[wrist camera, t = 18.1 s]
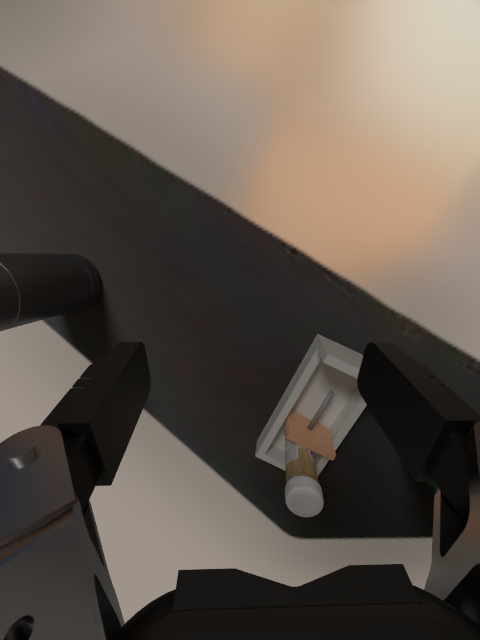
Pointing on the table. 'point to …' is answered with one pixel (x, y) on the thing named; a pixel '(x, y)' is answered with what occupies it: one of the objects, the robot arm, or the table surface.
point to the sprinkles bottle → (301, 480)
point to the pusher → (311, 431)
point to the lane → (317, 399)
